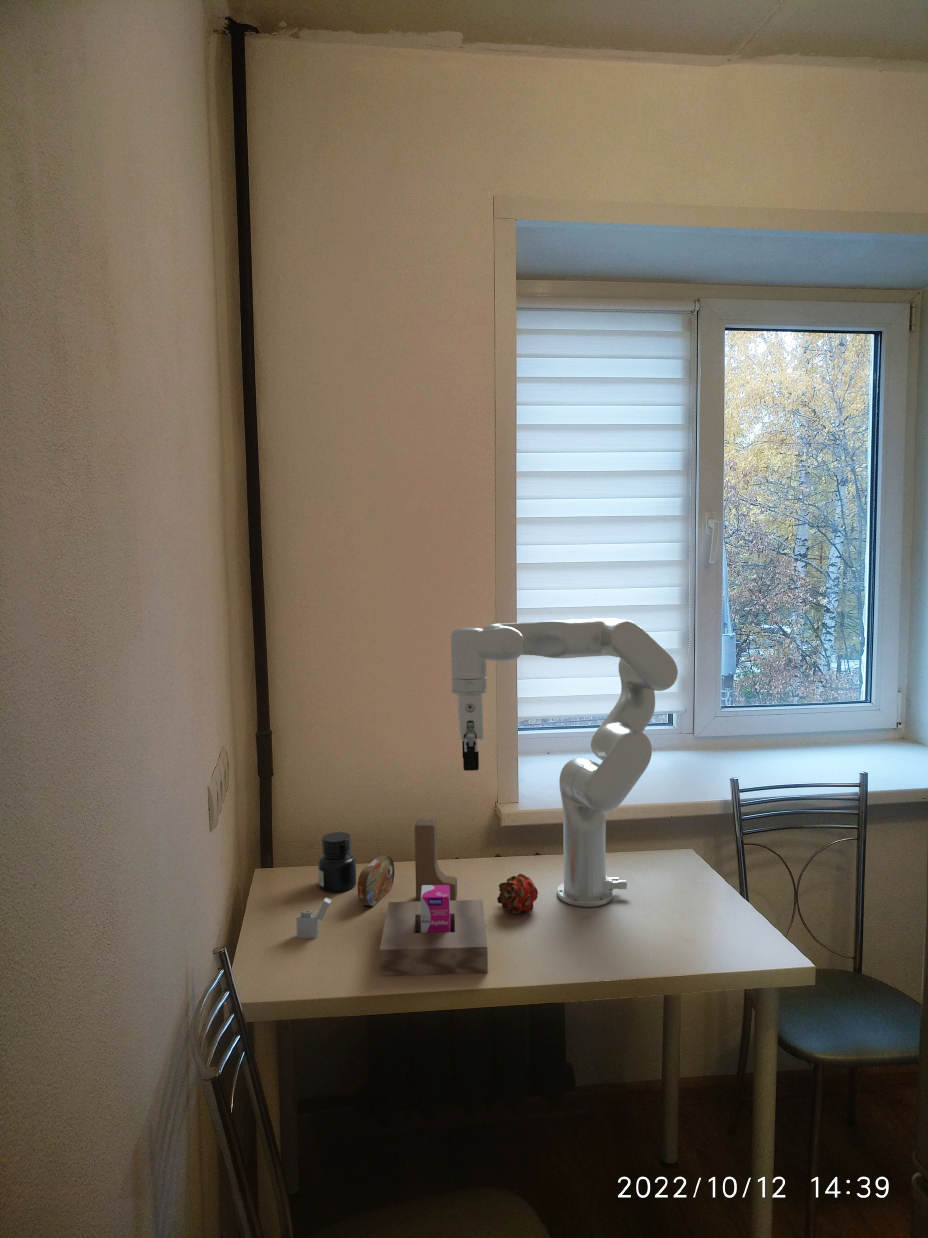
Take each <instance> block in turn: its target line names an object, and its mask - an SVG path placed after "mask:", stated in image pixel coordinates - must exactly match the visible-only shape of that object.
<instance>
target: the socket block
mask: <svg viewBox="0 0 928 1238" xmlns="http://www.w3.org/2000/svg"><path fill="white" fill-rule="evenodd" d="M387 903H388V904H387V909H386V913H385V918H384V924H383V929H382V934H381V935H382V936H381V940H380V941H381V942H380V946H379V971H380V972H379V973H380V974H379V975H380V976H381V977H384V976H385V977H386V976H420V975H423V976H424V975H456V974H457V975H459V974H460V975H461V974H488V973H489V971H488V970H489V969H488V967H489V964H488V963H489V962H488V960H489V959H488V955H489V954H488V939H487V931H486V919H485V914H484V912H485V910H484V900H483V899H463V900H461V899H460V900H456V901H450V932H443V933H421V901H417V902H416V901H389V902H387Z"/></svg>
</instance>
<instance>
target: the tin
mask: <svg viewBox="0 0 928 1238" xmlns="http://www.w3.org/2000/svg"><path fill="white" fill-rule="evenodd" d="M394 879H395V864H394V861H393V858H392V857H391V856H389V855H385V856H384V855H381V856H377V857H375V858H374V859H373V860H372V861H371V862H370V863H368V865H366V866H365V867H364V868H363V869H362V870H361V871H360V874H359V876H358V879H357V883H356V885H357V896H358V901H359V903H360V904H361V905H363V906H369V907H374V906H376V905H377V904H378V903H379V902H380V901H381V900H382V899H383V898H384V897H385V896H387V894H388V893H389V892H390V891H391V889H392V886H393V884H394Z"/></svg>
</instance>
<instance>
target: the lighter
mask: <svg viewBox="0 0 928 1238" xmlns="http://www.w3.org/2000/svg"><path fill="white" fill-rule="evenodd" d="M331 902H332V899H330V898H328V897H324V899H323V902H322V904H321V906H320V908H319V910H318V913H314V914H313V910H311V909H310V910H309V909H307V910H306V909H305V910H303V911H301V912H300V913H298V914H297V916H296V918H295V920H296V938H297V939H317V938H319V937H318V936H319V920H320V921H323V919H324V917H325V915H326V914H327V911H328V908H329V907H330V904H331Z"/></svg>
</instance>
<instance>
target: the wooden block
mask: <svg viewBox="0 0 928 1238" xmlns="http://www.w3.org/2000/svg"><path fill="white" fill-rule="evenodd" d="M437 827H438V825H437V819H417V820H416V823H415V825H414V854H415V855H414V859H415V861H414V863H415V864H414V867H415V868H414V869H415V902H417V901H421V888H422V885H450V901H457V898H458V878H457V877H456V876H451V875H446V874H445V873H444V872H443V871H442V870H441V869H440V868H439V867H440V866H439V863H438V845H437V844H438V843H437V842H438V837H437V835H438V832H437V831H438V830H437V829H438V828H437Z"/></svg>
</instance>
